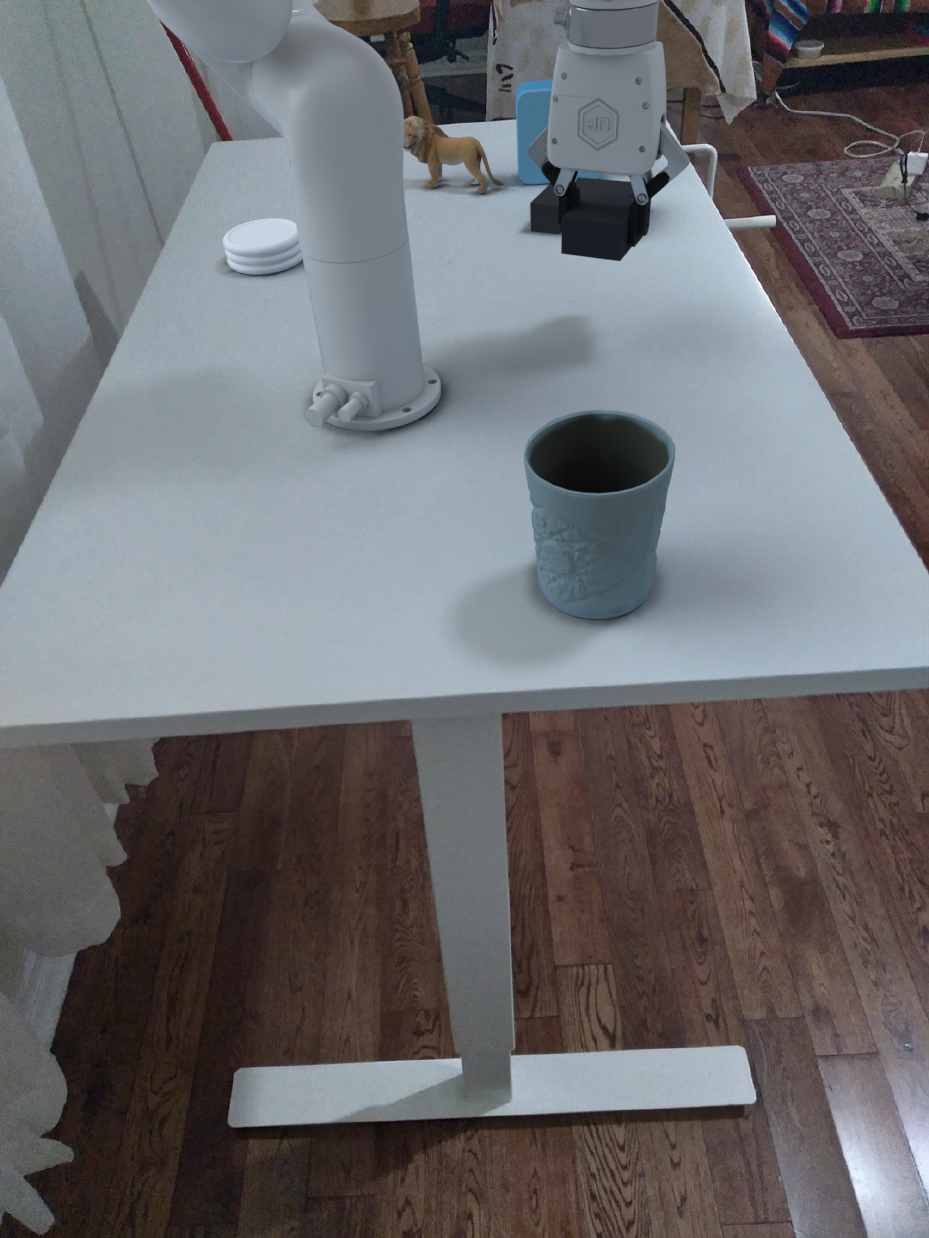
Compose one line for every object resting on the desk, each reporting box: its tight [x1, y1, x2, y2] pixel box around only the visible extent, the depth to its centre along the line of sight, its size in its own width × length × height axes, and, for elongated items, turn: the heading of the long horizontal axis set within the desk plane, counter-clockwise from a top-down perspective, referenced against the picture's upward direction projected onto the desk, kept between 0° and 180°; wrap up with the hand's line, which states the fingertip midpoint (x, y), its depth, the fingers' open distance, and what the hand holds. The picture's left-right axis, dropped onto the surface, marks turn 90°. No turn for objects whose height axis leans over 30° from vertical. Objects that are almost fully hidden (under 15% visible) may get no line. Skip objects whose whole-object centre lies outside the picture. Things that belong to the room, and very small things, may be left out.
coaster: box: [222, 217, 303, 276], centre depth 121 cm, size 10×10×4 cm
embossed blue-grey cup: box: [523, 409, 676, 620], centre depth 69 cm, size 10×10×12 cm
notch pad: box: [529, 177, 632, 235], centre depth 123 cm, size 10×12×4 cm
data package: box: [515, 79, 603, 186], centre depth 133 cm, size 12×4×12 cm, turn 89°
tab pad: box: [560, 185, 635, 262], centre depth 95 cm, size 10×6×4 cm, turn 155°
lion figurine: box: [404, 115, 504, 195], centre depth 134 cm, size 15×5×9 cm, turn 70°
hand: (602, 236), depth 95 cm, fingers closed on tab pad, 6 cm apart
